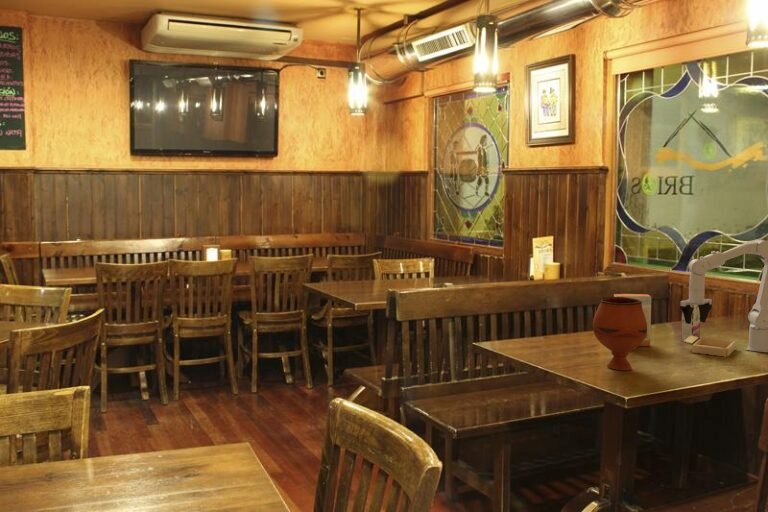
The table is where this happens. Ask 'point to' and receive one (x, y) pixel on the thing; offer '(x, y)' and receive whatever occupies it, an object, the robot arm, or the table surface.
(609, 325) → the goblet
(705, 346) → the flap
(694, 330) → the candy bar box
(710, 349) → the carton
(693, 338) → the flap
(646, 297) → the cracker box
